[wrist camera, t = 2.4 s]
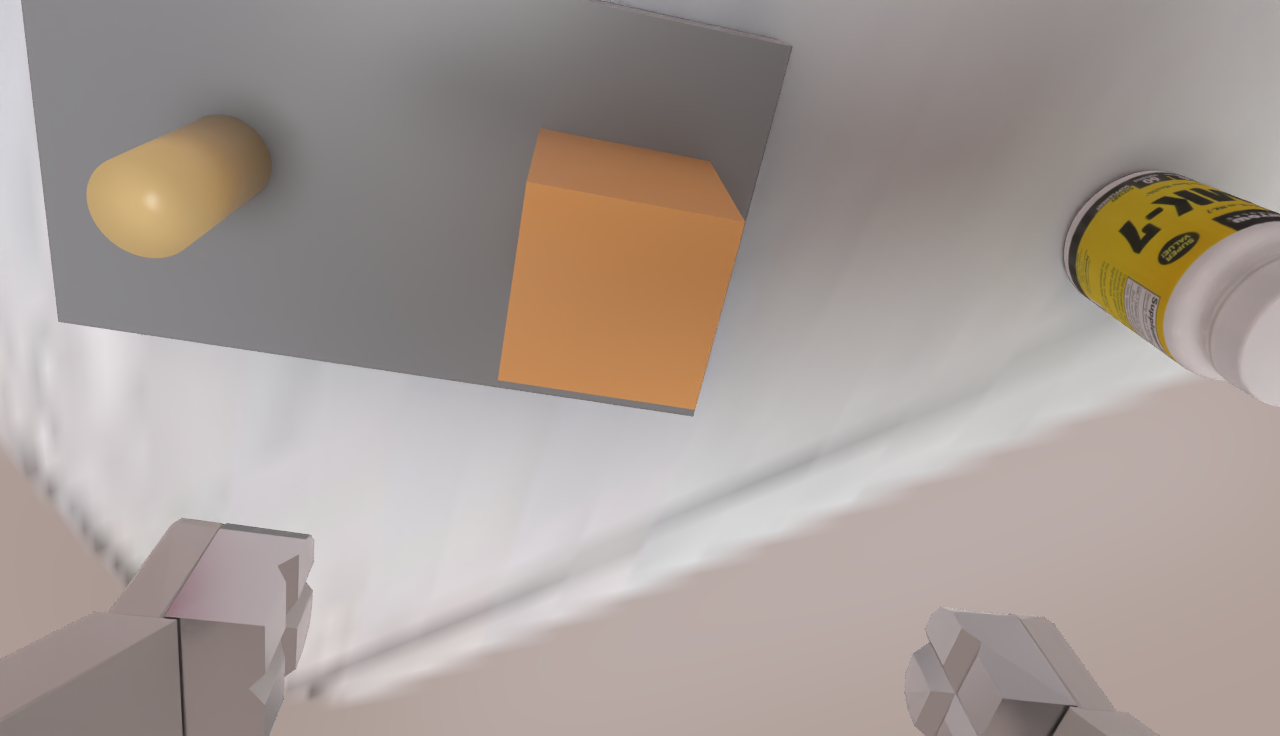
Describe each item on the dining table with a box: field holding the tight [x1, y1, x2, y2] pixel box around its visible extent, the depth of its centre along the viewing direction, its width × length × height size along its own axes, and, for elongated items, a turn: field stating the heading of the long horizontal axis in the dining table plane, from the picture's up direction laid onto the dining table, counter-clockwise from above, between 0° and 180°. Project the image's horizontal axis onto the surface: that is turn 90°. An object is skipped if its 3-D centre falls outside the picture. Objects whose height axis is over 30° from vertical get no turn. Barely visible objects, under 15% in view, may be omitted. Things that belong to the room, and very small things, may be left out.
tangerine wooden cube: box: [498, 128, 745, 410], centre depth 22 cm, size 5×5×6 cm
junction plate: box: [21, 0, 792, 416], centre depth 23 cm, size 20×12×7 cm, turn 78°
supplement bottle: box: [1064, 170, 1280, 407], centre depth 25 cm, size 5×5×8 cm
